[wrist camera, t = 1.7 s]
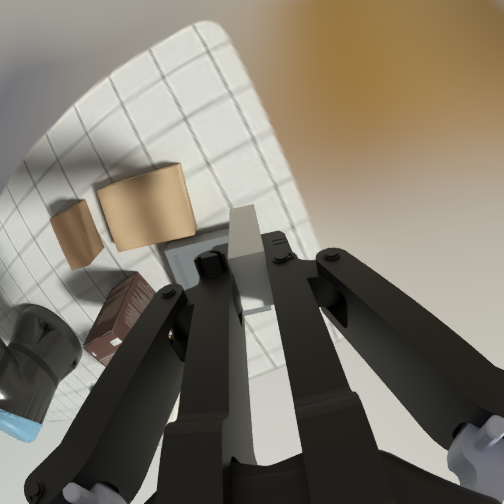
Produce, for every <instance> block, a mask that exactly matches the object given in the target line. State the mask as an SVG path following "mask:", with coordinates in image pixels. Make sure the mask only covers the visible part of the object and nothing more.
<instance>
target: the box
mask: <svg viewBox="0 0 504 504" xmlns="http://www.w3.org/2000/svg"><path fill="white" fill-rule="evenodd" d="M155 294H156V292H155V291H154V290H153V289H152V287H151V286H150V285H149V284H148V283H147V282H146V281H145V279H144V278H143V277H142V276H141V275H140V274H139V273H138V272H136V273H135V274H133V275H132V276H130V277H129V278H127V279H126V280H124V281H123V282H121V283H120V284H119V285H117V286H116V287H114V288H113V289H112V290H111V291H110V293H109V295H108V297H107V299H106V301H105V303H104V305H103V307H102V309H101V311H100V312H99V314H98V316H97V318H96V320H95V322H94V324H93V326H92V328H91V330H90V332H89V335H88V337H87V339H86V341H85V343H84V345H83V348H84V349H85V350H86V351H87V352H88V353H90V354H91V355H92V356H93V357H94V358H95V359H96V360H98V361H99V362H100V363H101V364H102V365H104V366H105V367H106V366H107V365H108V363H109V361H110V360H111V358H112V357H113V355H114V354H115V352H116V351H117V349H118V348H119V346H120V345H121V343H122V342H123V340H124V339H125V337H126V336H127V334H128V333H129V331H130V330H131V328H132V327H133V325H134V324H135V322H136V321H137V320H138V318H139V317H140V315H141V314H142V312H143V311H144V309H145V308H146V307H147V305H148V304H149V302H150V301H151V299H152V298H153V297H154V295H155Z"/></svg>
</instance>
